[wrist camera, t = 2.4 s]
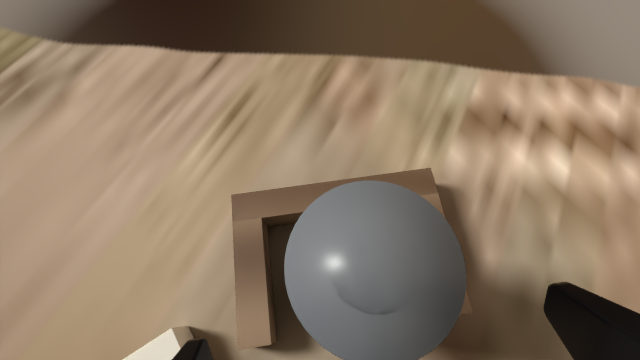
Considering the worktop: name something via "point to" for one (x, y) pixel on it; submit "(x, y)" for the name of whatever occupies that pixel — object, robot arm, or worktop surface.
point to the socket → (253, 244)
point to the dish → (163, 345)
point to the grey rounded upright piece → (375, 272)
